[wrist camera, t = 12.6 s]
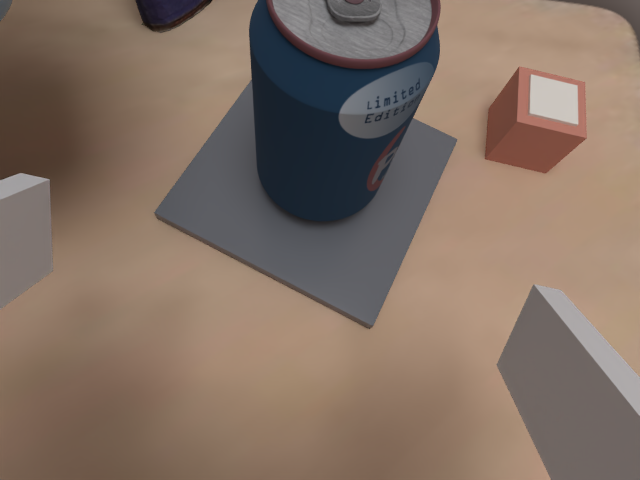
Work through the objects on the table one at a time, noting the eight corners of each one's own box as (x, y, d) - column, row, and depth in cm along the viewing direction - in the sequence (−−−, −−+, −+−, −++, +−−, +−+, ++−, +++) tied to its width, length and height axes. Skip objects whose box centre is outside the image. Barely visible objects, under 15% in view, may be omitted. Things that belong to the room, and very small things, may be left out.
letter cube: (484, 159, 28) (518, 119, 24) (488, 109, 30) (520, 64, 26) (545, 173, 28) (588, 135, 24) (545, 123, 30) (587, 79, 26)
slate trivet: (157, 218, 24) (154, 212, 24) (272, 60, 29) (272, 51, 28) (369, 328, 23) (373, 326, 23) (452, 146, 28) (457, 139, 27)
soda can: (386, 226, 25) (481, 75, 13) (261, 235, 24) (252, 79, 13) (367, 122, 27) (435, -80, 16) (253, 126, 26) (240, -86, 15)
